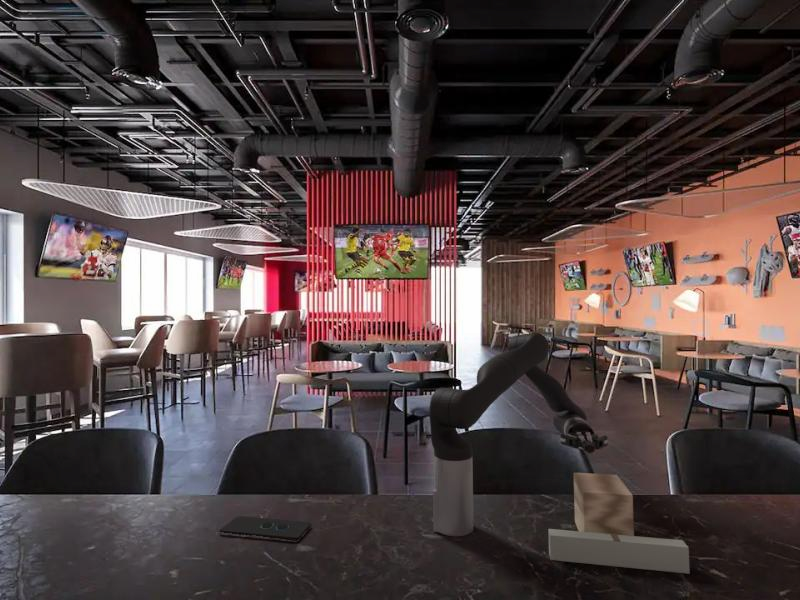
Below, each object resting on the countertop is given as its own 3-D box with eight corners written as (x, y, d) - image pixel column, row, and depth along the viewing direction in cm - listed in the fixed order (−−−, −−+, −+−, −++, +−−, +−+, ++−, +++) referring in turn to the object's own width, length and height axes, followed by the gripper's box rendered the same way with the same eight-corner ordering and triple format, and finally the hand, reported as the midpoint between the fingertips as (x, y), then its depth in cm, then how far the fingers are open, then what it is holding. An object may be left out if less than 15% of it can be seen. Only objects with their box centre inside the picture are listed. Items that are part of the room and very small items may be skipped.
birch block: (585, 547, 98) (583, 491, 99) (574, 521, 111) (573, 472, 112) (634, 552, 96) (632, 495, 97) (618, 525, 109) (616, 475, 109)
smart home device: (297, 537, 101) (218, 529, 105) (297, 545, 101) (218, 537, 105) (312, 521, 109) (238, 515, 113) (312, 528, 109) (237, 521, 113)
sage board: (550, 559, 93) (549, 534, 93) (548, 552, 96) (548, 528, 96) (689, 573, 88) (688, 546, 88) (683, 565, 91) (682, 539, 91)
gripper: (554, 418, 135) (562, 433, 118) (601, 420, 132) (617, 435, 115) (555, 444, 134) (563, 462, 117) (602, 445, 132) (618, 465, 115)
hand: (590, 449), depth 116 cm, fingers closed
